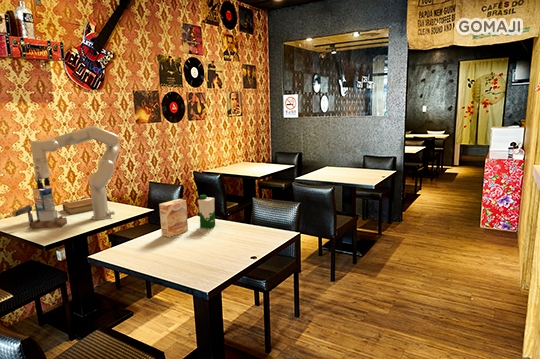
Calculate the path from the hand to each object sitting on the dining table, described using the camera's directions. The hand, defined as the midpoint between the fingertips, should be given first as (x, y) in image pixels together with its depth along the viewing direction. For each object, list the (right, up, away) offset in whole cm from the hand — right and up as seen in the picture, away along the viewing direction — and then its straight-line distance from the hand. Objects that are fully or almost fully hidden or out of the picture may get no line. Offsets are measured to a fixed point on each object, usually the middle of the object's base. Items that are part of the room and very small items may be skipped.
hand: (44, 187), depth 243 cm
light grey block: (+1, -22, +5) cm, 22 cm away
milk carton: (+105, -25, -3) cm, 108 cm away
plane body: (+1, -26, +5) cm, 26 cm away
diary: (+4, -18, +44) cm, 48 cm away
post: (-10, -26, +4) cm, 28 cm away
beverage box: (-10, -23, +20) cm, 32 cm away
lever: (-11, -16, -4) cm, 20 cm away
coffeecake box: (+87, -28, -14) cm, 92 cm away
